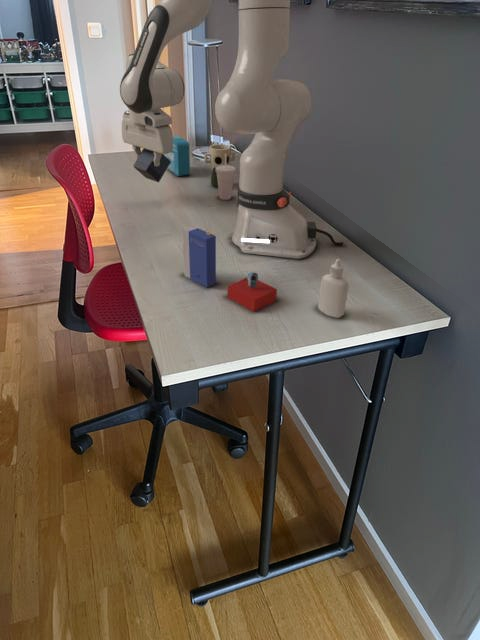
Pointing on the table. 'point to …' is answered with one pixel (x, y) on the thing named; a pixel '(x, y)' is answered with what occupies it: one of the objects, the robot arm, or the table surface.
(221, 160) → the character mug
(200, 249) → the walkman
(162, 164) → the bin
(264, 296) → the red slab
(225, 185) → the smoothie
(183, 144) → the data package
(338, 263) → the eye dropper bottle
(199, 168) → the table surface
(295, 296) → the table surface
